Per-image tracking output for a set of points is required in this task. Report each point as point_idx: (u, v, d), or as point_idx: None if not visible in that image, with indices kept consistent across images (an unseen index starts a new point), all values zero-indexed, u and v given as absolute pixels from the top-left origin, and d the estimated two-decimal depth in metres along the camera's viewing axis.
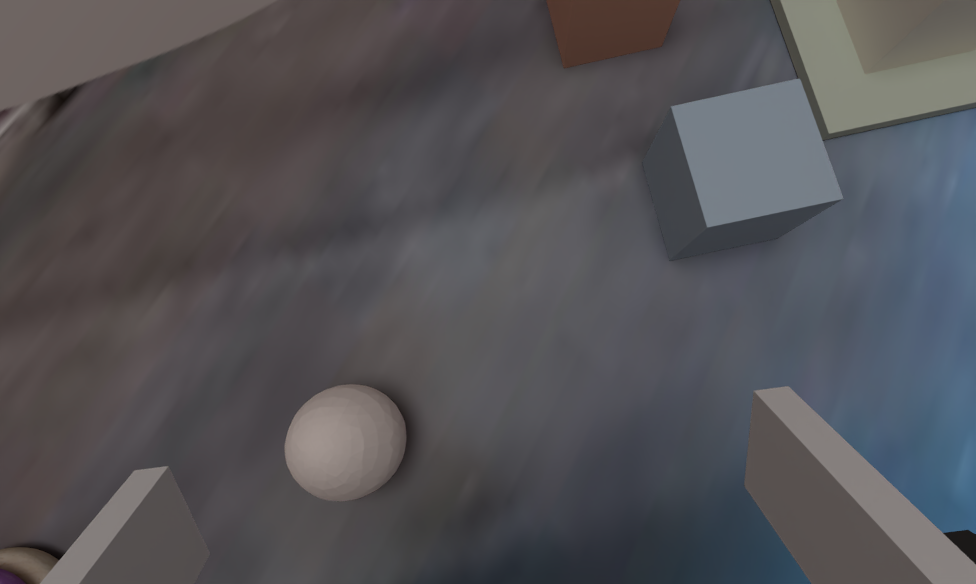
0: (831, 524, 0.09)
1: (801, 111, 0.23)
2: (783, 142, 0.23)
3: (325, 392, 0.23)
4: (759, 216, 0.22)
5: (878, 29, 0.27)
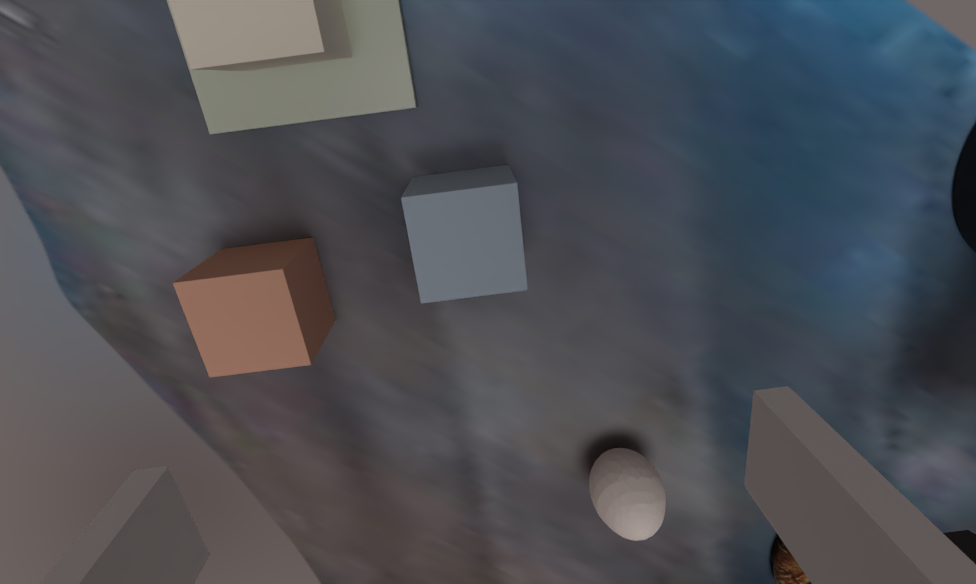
0: (831, 524, 0.09)
1: (433, 202, 0.26)
2: (461, 222, 0.27)
3: (599, 512, 0.36)
4: (523, 250, 0.27)
5: (317, 59, 0.26)
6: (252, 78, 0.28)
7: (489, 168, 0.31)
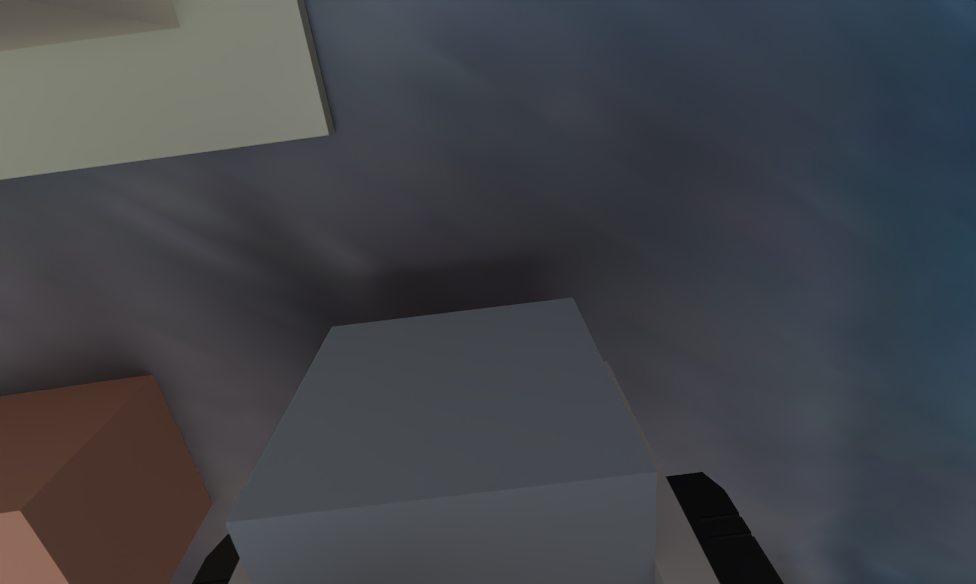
0: None
1: (346, 532, 0.07)
2: (449, 582, 0.08)
3: None
4: None
5: (71, 29, 0.11)
6: None
7: (526, 313, 0.12)
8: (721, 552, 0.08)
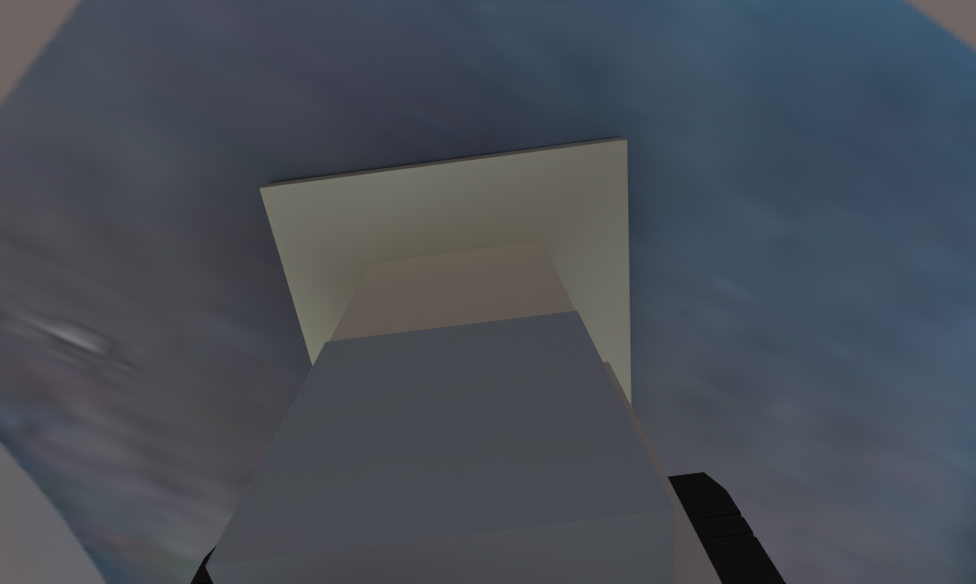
0: None
1: (338, 575, 0.07)
2: None
3: None
4: None
5: None
6: None
7: (529, 327, 0.11)
8: (723, 553, 0.08)
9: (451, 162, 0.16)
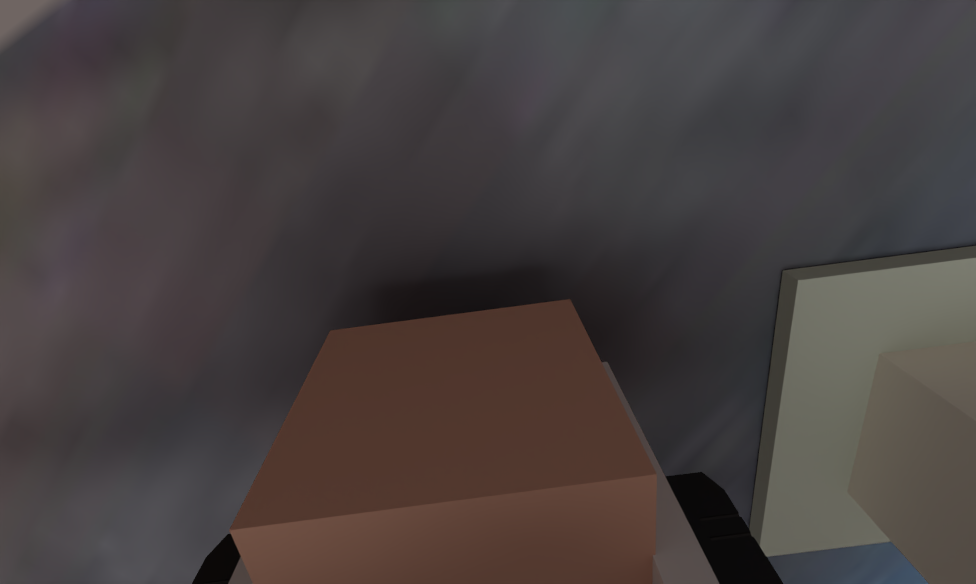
0: None
1: None
2: None
3: None
4: None
5: (894, 503, 0.16)
6: (865, 362, 0.16)
7: None
8: (720, 552, 0.08)
9: None
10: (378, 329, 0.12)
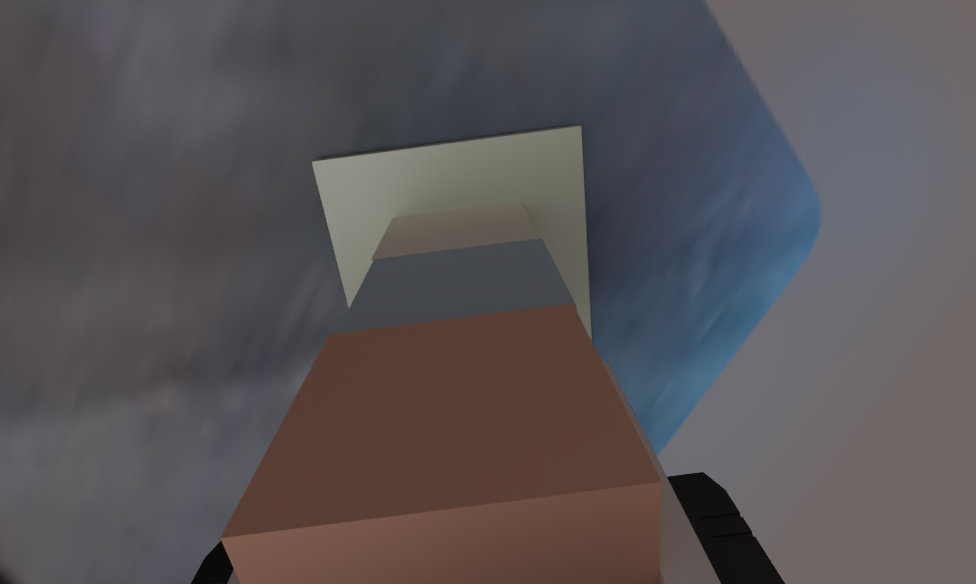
0: None
1: None
2: None
3: None
4: None
5: None
6: (384, 225, 0.24)
7: None
8: (722, 553, 0.08)
9: (587, 258, 0.25)
10: (377, 333, 0.12)
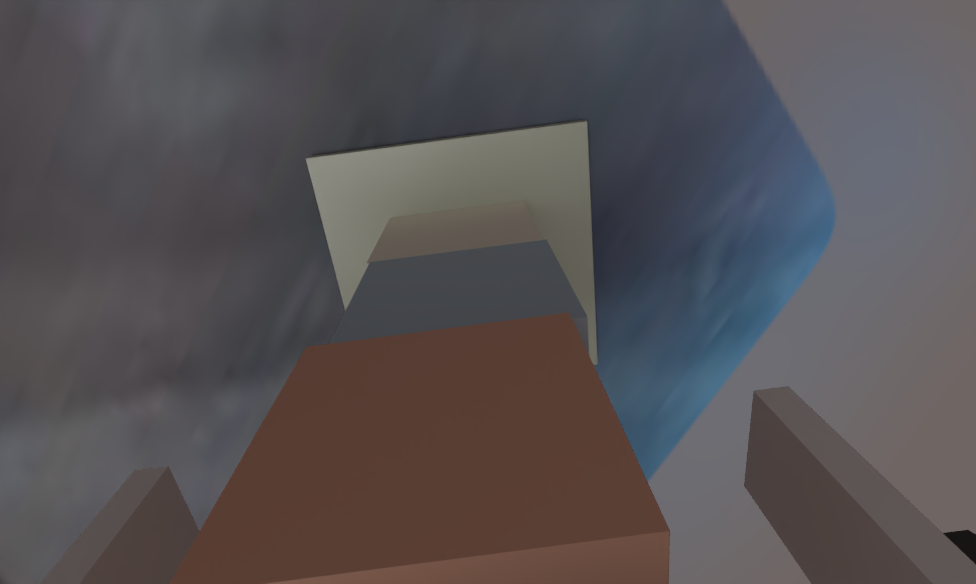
0: (831, 524, 0.09)
1: None
2: None
3: None
4: None
5: None
6: (382, 225, 0.23)
7: None
8: None
9: (592, 259, 0.24)
10: (358, 345, 0.11)
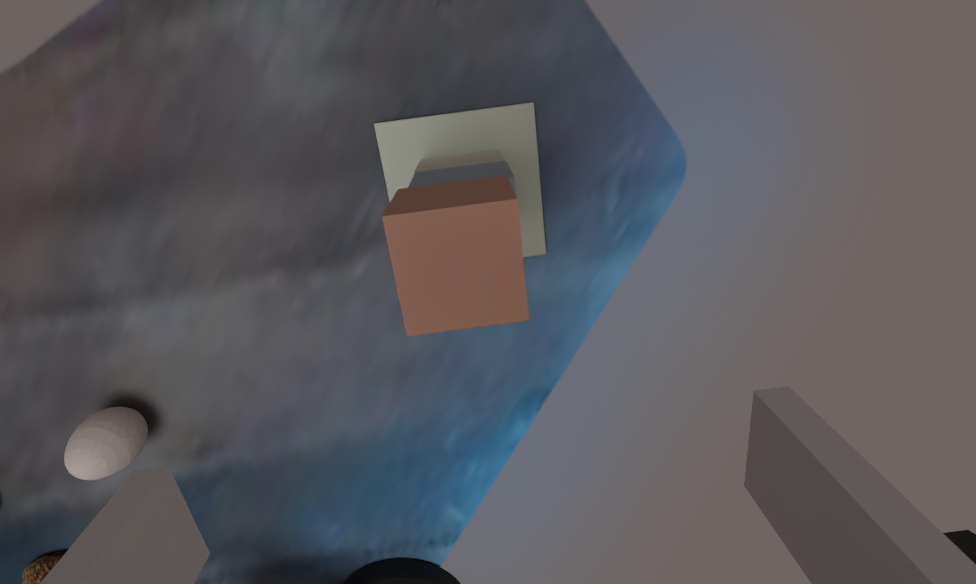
0: (831, 524, 0.09)
1: None
2: None
3: (82, 431, 0.42)
4: None
5: None
6: (416, 163, 0.39)
7: None
8: None
9: (540, 186, 0.40)
10: (420, 186, 0.27)
